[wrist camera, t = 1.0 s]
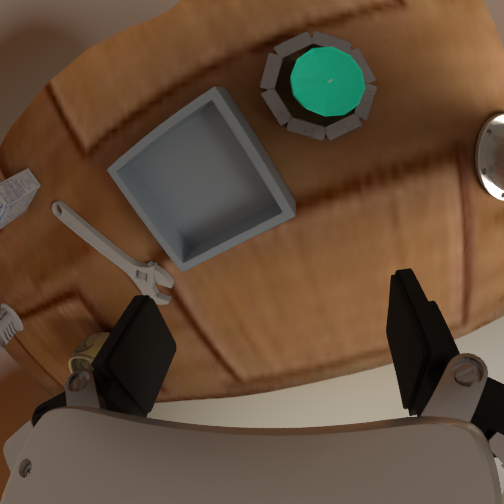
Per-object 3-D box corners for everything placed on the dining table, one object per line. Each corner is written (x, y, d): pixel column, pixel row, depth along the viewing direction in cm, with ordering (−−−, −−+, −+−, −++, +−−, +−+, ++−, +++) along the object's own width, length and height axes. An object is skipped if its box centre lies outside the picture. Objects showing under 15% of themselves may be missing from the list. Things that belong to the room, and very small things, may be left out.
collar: (334, 24, 24) (338, 18, 22) (383, 110, 29) (392, 112, 26) (245, 67, 28) (241, 65, 26) (297, 151, 33) (298, 156, 30)
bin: (225, 87, 30) (214, 86, 25) (295, 200, 36) (295, 216, 31) (126, 159, 35) (106, 169, 31) (192, 252, 41) (181, 272, 37)
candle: (292, 58, 27) (293, 37, 17) (345, 65, 27) (373, 51, 16) (287, 107, 30) (287, 112, 20) (340, 114, 30) (365, 125, 20)
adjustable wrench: (55, 207, 41) (49, 211, 40) (67, 179, 38) (60, 182, 37) (163, 303, 47) (159, 310, 46) (184, 282, 45) (180, 289, 43)
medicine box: (29, 166, 37) (-7, 184, 30) (42, 185, 39) (7, 206, 31) (14, 193, 40) (-18, 213, 33) (26, 211, 42) (-5, 233, 34)
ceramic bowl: (123, 378, 62) (100, 427, 49) (73, 330, 56) (40, 378, 43) (188, 363, 54) (166, 427, 42) (129, 302, 48) (89, 365, 35)
